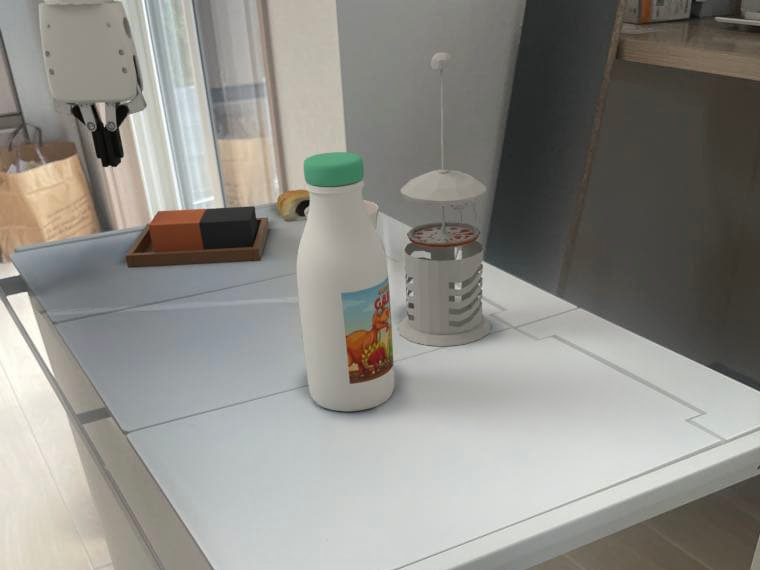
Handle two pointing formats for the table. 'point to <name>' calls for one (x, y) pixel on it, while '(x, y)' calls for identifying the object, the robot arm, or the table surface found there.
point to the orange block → (177, 230)
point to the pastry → (293, 204)
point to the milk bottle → (343, 290)
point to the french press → (444, 257)
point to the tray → (194, 251)
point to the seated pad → (229, 227)
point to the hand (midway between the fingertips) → (112, 164)
